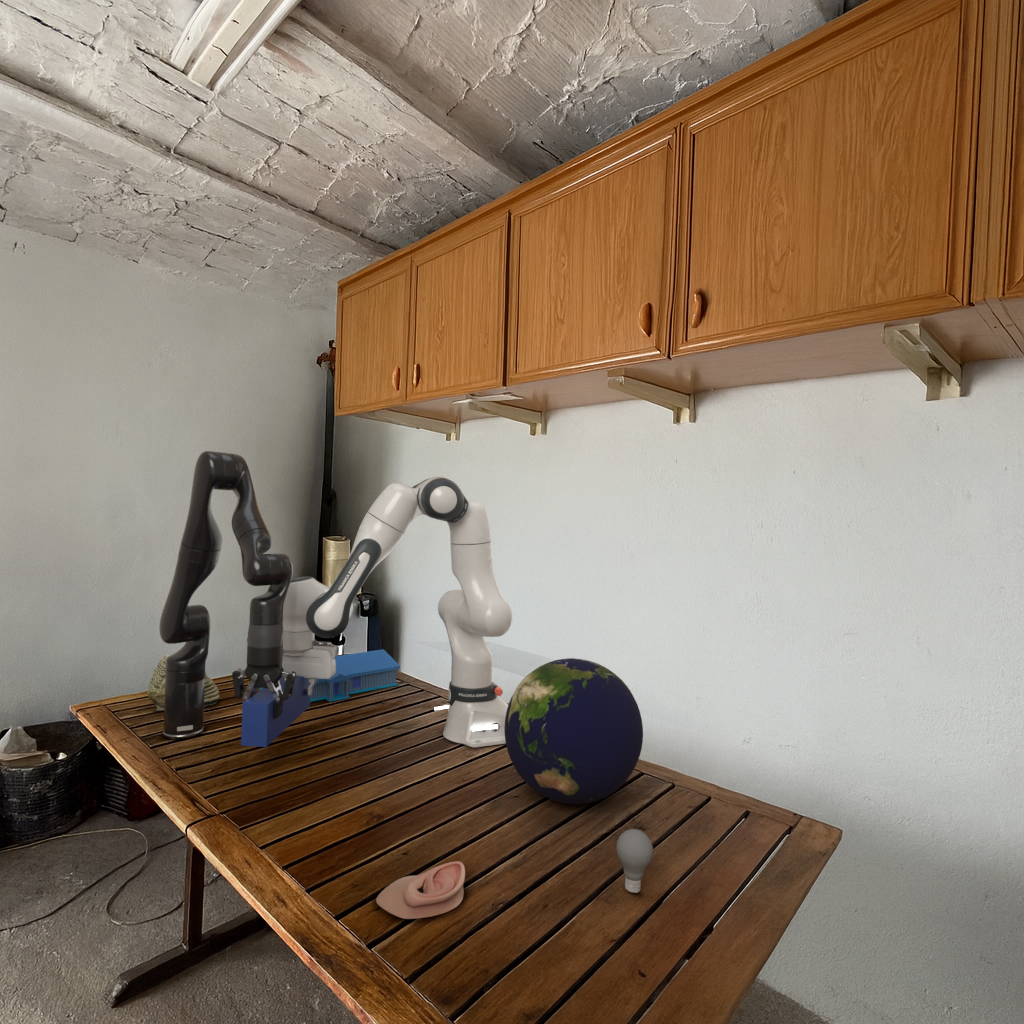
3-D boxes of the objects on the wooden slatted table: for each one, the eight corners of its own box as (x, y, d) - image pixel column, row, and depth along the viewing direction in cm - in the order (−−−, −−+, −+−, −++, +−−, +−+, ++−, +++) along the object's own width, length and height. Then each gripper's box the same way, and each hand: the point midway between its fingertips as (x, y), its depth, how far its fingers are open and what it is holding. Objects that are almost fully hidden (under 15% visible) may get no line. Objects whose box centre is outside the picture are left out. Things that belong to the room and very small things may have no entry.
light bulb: (610, 879, 108) (613, 822, 108) (644, 879, 109) (647, 822, 109) (619, 902, 102) (622, 840, 102) (655, 901, 103) (658, 840, 103)
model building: (289, 709, 186) (291, 675, 185) (258, 688, 204) (259, 657, 204) (403, 687, 212) (405, 657, 212) (366, 670, 230) (368, 643, 230)
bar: (266, 747, 138) (268, 704, 138) (240, 745, 138) (242, 702, 138) (310, 705, 166) (311, 669, 166) (289, 704, 166) (290, 668, 166)
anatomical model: (368, 886, 97) (397, 847, 108) (367, 912, 97) (396, 870, 108) (451, 901, 94) (471, 859, 106) (450, 928, 94) (470, 883, 106)
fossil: (144, 707, 182) (145, 655, 182) (212, 696, 194) (213, 647, 194) (151, 716, 175) (153, 662, 175) (221, 703, 188) (223, 653, 188)
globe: (478, 811, 130) (485, 666, 129) (529, 759, 158) (535, 639, 157) (623, 847, 119) (630, 688, 118) (650, 784, 146) (656, 655, 146)
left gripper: (303, 640, 146) (300, 713, 146) (241, 637, 146) (238, 709, 146) (290, 648, 138) (287, 724, 139) (225, 644, 139) (223, 721, 139)
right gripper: (340, 639, 164) (338, 692, 165) (262, 635, 165) (260, 688, 165) (332, 645, 158) (330, 700, 158) (252, 640, 159) (250, 695, 159)
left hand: (262, 716), depth 143 cm, fingers closed on bar, 5 cm apart
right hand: (294, 694), depth 162 cm, fingers closed on bar, 6 cm apart
